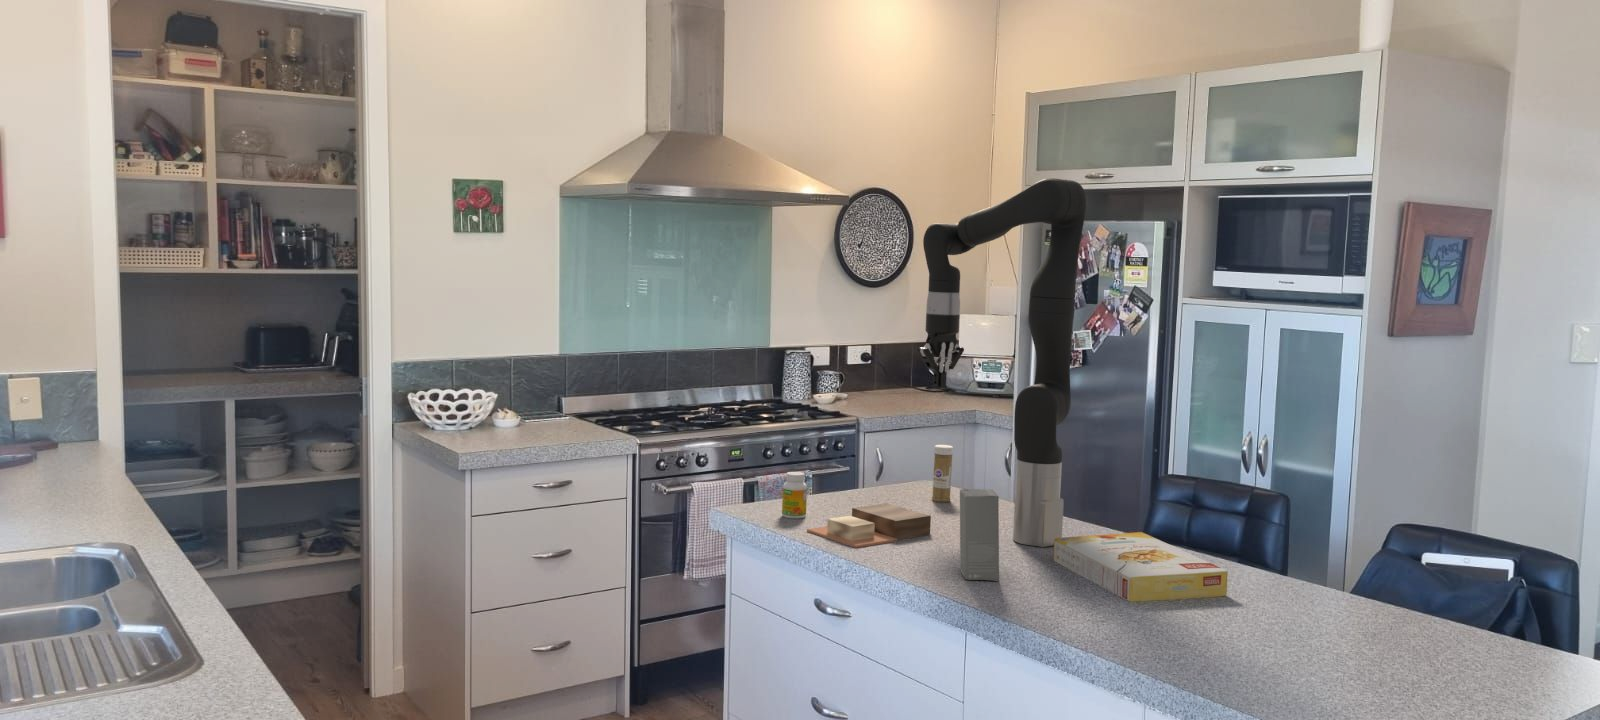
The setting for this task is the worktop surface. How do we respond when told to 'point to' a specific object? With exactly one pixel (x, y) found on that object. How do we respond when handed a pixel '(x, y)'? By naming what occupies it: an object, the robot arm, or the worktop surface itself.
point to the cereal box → (1140, 567)
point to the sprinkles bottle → (942, 473)
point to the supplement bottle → (794, 496)
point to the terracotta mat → (857, 543)
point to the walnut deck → (894, 520)
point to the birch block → (850, 528)
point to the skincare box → (979, 534)
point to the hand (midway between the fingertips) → (939, 388)
